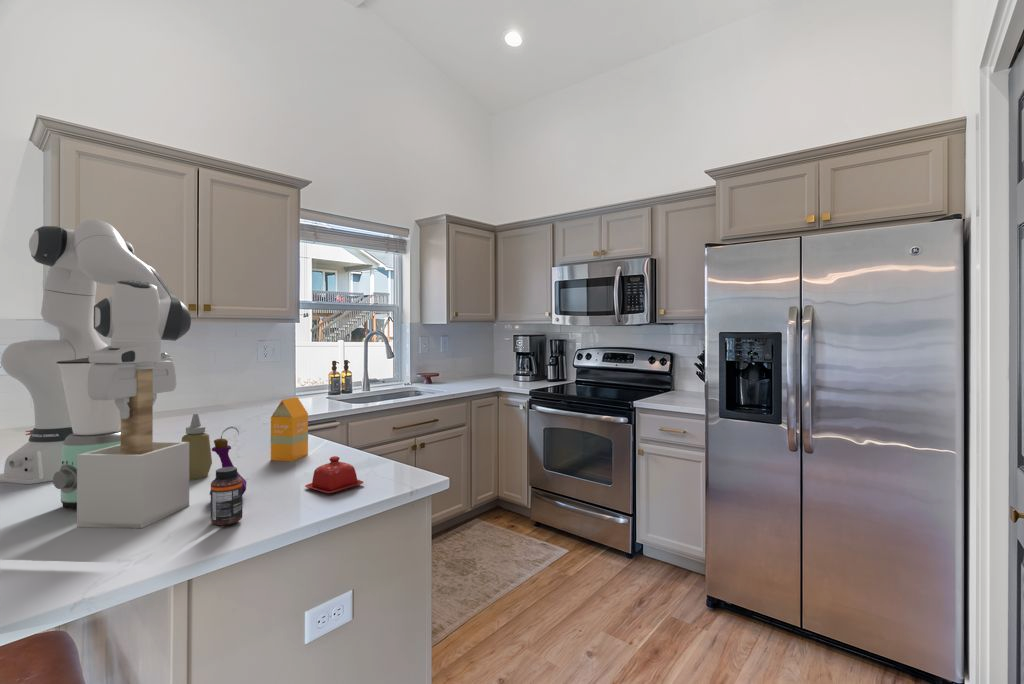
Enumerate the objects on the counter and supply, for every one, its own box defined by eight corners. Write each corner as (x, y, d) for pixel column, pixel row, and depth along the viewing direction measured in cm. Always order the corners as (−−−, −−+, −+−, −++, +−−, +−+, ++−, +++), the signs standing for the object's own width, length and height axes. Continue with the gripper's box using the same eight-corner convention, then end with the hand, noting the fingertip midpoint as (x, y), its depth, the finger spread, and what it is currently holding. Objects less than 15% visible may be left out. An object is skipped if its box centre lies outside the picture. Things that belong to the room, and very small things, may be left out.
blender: (81, 516, 109) (81, 357, 109) (35, 512, 112) (35, 357, 112) (160, 491, 127) (160, 355, 127) (119, 487, 130) (119, 354, 130)
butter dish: (302, 490, 129) (302, 457, 129) (340, 479, 139) (340, 449, 139) (328, 498, 123) (328, 464, 123) (366, 487, 132) (366, 455, 132)
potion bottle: (209, 507, 115) (209, 430, 115) (211, 498, 121) (211, 425, 121) (246, 503, 118) (246, 427, 118) (246, 494, 125) (246, 423, 125)
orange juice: (270, 462, 157) (270, 399, 157) (287, 456, 166) (287, 396, 166) (292, 463, 156) (292, 400, 156) (308, 457, 165) (308, 397, 165)
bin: (77, 526, 103) (76, 454, 103) (132, 504, 117) (132, 441, 117) (141, 528, 102) (141, 455, 102) (189, 505, 116) (189, 441, 116)
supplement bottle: (219, 516, 109) (219, 465, 109) (247, 515, 109) (247, 464, 109) (204, 526, 103) (204, 472, 103) (234, 526, 104) (234, 472, 103)
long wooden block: (120, 505, 108) (120, 367, 107) (135, 499, 112) (135, 366, 111) (138, 505, 107) (138, 367, 107) (152, 499, 111) (152, 366, 111)
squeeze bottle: (218, 474, 143) (218, 412, 143) (198, 482, 135) (198, 416, 135) (192, 473, 144) (192, 411, 144) (171, 481, 136) (171, 416, 136)
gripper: (158, 352, 120) (158, 409, 120) (80, 355, 99) (80, 423, 100) (183, 352, 120) (183, 409, 120) (110, 355, 99) (110, 424, 99)
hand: (136, 416), depth 109 cm, fingers closed on long wooden block, 4 cm apart
